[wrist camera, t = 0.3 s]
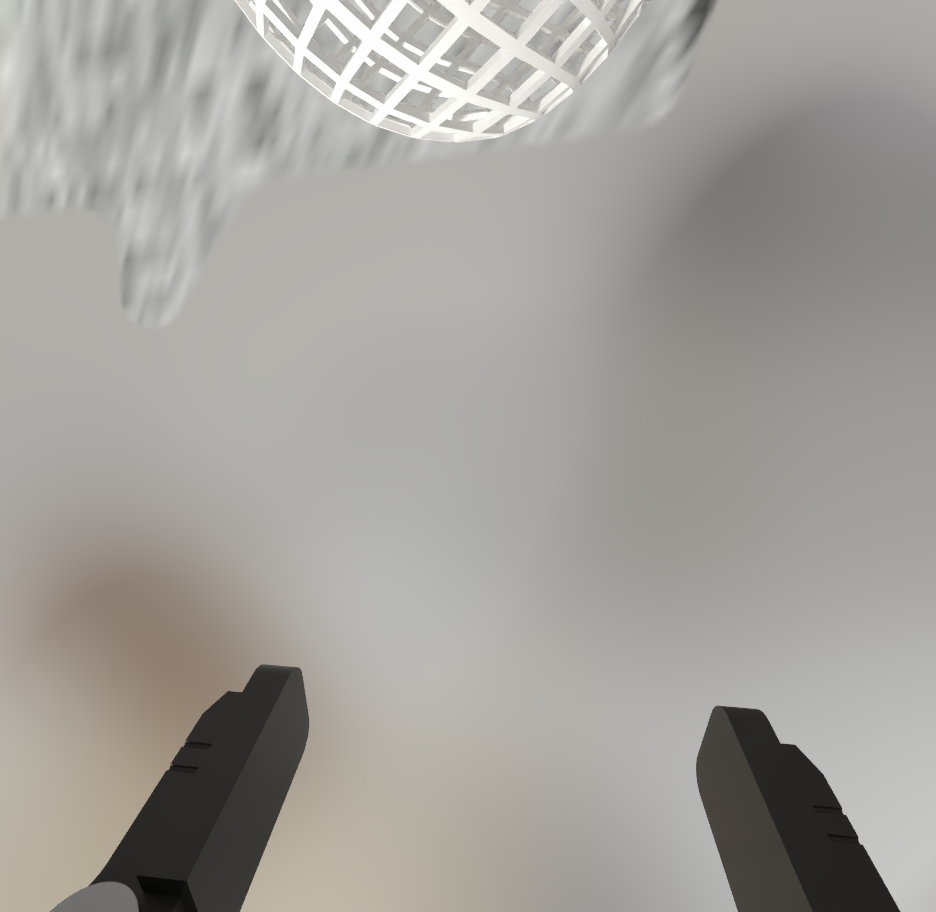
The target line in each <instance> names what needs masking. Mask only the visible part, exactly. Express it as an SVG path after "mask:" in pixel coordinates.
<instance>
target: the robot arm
mask: <svg viewBox="0 0 936 912" xmlns="http://www.w3.org/2000/svg"><path fill="white" fill-rule="evenodd" d="M308 731H309V715H308V709H307V703H306V696H305V689H304V683H303V676H302V672H301V669H300V668H297V667H287V666H275V665H260V666H259V667H258V668H257V669H256V670H255V672H254V673H253V675H252V677H251V678H250V680H249V682H248V683H247V685H246V687H245V689H244V690H243V692H231V691H228V692H227V693H226V694H224V695H223V696H222V697H221V698H220V699H219V700H218V701H217V702H215V703H214V704H213V705H212V706H211V707H210V708H209V709H208V710H206V711H205V712H204V713H203V714H202V716H201V717H200V719H199V721H198V722H197V724H196V725H195V727H194V728H193V730H192V732H191V733H190V735H189V736H188V738H187V739H186V741H185V745H184V747H181V749H180V750H179V752H178V754H177V755H176V756H175V758H174V760H173V761H172V763H171V764H170V765H171V766H170V769H169V770H168V771H166V772H165V774H164V775H163V777H162V778H161V780H160V782H159V783H158V785H157V786H156V788H155V789H154V791H153V792H152V794H151V796H150V797H149V799H148V800H147V802H146V803H145V805H144V807H143V808H142V810H141V811H140V813H139V814H138V816H137V817H136V819H135V821H134V822H133V824H132V825H131V827H130V828H129V830H128V832H127V833H126V835H125V836H124V838H123V839H122V841H121V843H120V844H119V846H118V847H117V849H116V850H115V852H114V854H113V855H112V857H111V858H110V860H109V861H108V863H107V864H106V866H105V867H104V869H103V870H102V871H101V873H100V874H99V875H98V876H97V877H96V878H95V880H94V881H93V882H92V883H91V884H90V885H89V886H88V887H86V888H84V889H81V890H79V891H78V892H76V893H74V894H72V895H71V896H69V897H68V898H66V899H65V900H64V901H62V902H61V903H59V904H58V905H57V906H56V907H55V908H54V909H52V910H51V911H50V912H240V910H241V907H242V905H243V902H244V900H245V897H246V895H247V892H248V890H249V887H250V885H251V882H252V880H253V877H254V875H255V872H256V870H257V867H258V865H259V862H260V860H261V857H262V855H263V852H264V850H265V847H266V845H267V842H268V840H269V837H270V835H271V832H272V830H273V827H274V825H275V822H276V820H277V817H278V815H279V813H280V810H281V807H282V805H283V802H284V800H285V798H286V795H287V792H288V790H289V788H290V785H291V783H292V780H293V777H294V775H295V772H296V770H297V768H298V765H299V763H300V760H301V758H302V755H303V752H304V749H305V746H306V741H307V737H308ZM696 774H697V783H698V788H699V792H700V796H701V799H702V802H703V805H704V808H705V811H706V815H707V817H708V821H709V824H710V826H711V829H712V833H713V836H714V839H715V842H716V845H717V848H718V851H719V854H720V858H721V860H722V864H723V867H724V869H725V873H726V876H727V879H728V882H729V885H730V888H731V891H732V894H733V897H734V901H735V903H736V907H737V910H738V912H900V911H899V909H898V907H897V905H896V903H895V901H894V900H893V898H892V896H891V894H890V893H889V891H888V889H887V887H886V886H885V884H884V882H883V880H882V878H881V877H880V875H879V873H878V871H877V869H876V868H875V866H874V864H873V862H872V861H871V859H870V857H869V855H868V854H867V852H866V850H865V848H864V847H863V845H860V844H859V841H858V836H857V834H856V832H855V830H854V829H853V827H852V825H851V823H850V821H849V820H848V818H847V816H846V815H844V814H843V813H842V807H841V805H840V804H839V802H838V800H837V798H836V796H835V795H834V793H833V791H832V789H831V788H830V786H829V784H828V782H827V780H826V779H825V777H824V775H823V774H822V773H821V772H820V771H819V770H818V768H817V767H816V766H815V765H814V764H813V763H812V762H811V761H810V760H809V759H808V758H807V757H806V756H805V755H804V754H803V753H802V752H801V751H800V749H799V748H798V747H797V746H796V745H790V744H780V742H779V740H778V738H777V736H776V734H775V732H774V730H773V728H772V726H771V724H770V722H769V721H768V719H767V717H766V716H765V714H764V713H763V712H762V711H760V710H758V709H748V708H737V707H726V706H716V707H714V709H713V710H712V713H711V716H710V719H709V722H708V726H707V728H706V732H705V735H704V738H703V741H702V744H701V747H700V750H699V753H698V757H697V763H696Z"/></svg>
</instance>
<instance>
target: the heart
mask: <svg viewBox="0 0 936 912" xmlns="http://www.w3.org/2000/svg"><path fill="white" fill-rule="evenodd" d="M235 1H236V3H237V4H238V5H239V7H240V8H241V9H242V11H243V12H244V14H245V15H246V16H247V18H248V19H249V20H250V22H251V23H252V24H253V26H254V27H255V28H256V30H257V31H258V33H259V34H260V35H261V36H262V37H263V38H264V40H265V41H266V42H267V43H268V44H269V45H270V46H271V47H272V48H273V49H274V50H275V51H276V52H277V53H278V54H279V55H280V57H281V58H282V59H283V60H284V61H285V62H286V63H287V64H288V65H289V66H290V67H291V68H292V69H293V70H294V71H295V72H296V73H297V74H298V75H299V76H300V77H302V78H303V79H304V80H305V81H307V82H308V83H309V84H310V85H312V86H313V87H314V88H315V89H317V90H318V91H319V92H321V93H322V94H323V95H324V96H326V97H327V98H328V99H329V100H331V101H332V102H334V103H335V104H337V105H338V106H340V107H342V108H343V109H345V110H347V111H349V112H350V113H352V114H354V115H356V116H358V117H359V118H361V119H363V120H365V121H366V122H368V123H370V124H373V125H375V126H378V127H381V128H384V129H387V130H390V131H393V132H396V133H399V134H402V135H405V136H408V137H412V138H417V139H426V140H436V141H446V142H467V141H475V140H482V139H490V138H497V137H500V136H503V135H506V134H508V133H510V132H512V131H514V130H516V129H518V128H520V127H523V126H525V125H527V124H529V123H531V122H533V121H535V120H537V119H538V118H540V117H542V116H543V115H544V114H546V113H547V112H548V111H550V110H551V109H552V108H553V107H555V106H556V105H557V104H559V103H560V102H561V101H562V100H564V99H565V98H566V97H568V96H569V95H570V94H571V93H573V92H574V91H575V90H576V89H577V88H578V87H579V86H580V85H581V84H582V83H583V82H584V81H585V80H586V79H587V78H588V77H589V75H590V74H591V73H592V72H593V71H594V70H595V69H596V68H597V67H598V66H599V65H600V64H601V63H602V61H603V60H604V59H605V58H606V57H607V56H608V55H609V54H610V52H611V51H612V50H613V49H614V48H615V46H616V45H617V44H618V42H619V41H620V40H621V38H622V37H623V36H624V34H625V33H626V32H627V30H628V29H629V28H630V26H631V25H632V24H633V22H634V21H635V20H636V18H637V17H638V16H639V14H640V13H641V12H642V10H643V9H644V8H645V6H646V5H647V3H648V2H649V1H650V0H631V1H630V2H629V3H628V5H627V6H626V7H625V9H617V8H618V7H619V6H620V4H621V3H622V2H623V1H624V0H599V2H596V1H597V0H570V1H571V2H572V3H573V4H574V5H575V6H576V8H575V9H574V10H573V11H572V12H571V13H570V14H569V15H568V16H567V18H566V19H565V20H564V21H563V22H562V23H561V24H560V25H559V26H556V25H554V24H552V23H551V22H549V21H547V20H548V19H549V18H550V16H551V15H552V14H553V13H554V12H555V11H556V10H557V8H558V7H559V6H560V5H561V4H562V3H563V2H564V0H542V2H541V3H540V4H539V5H538V6H537V7H536V9H535V10H534V11H533V12H531V11H529V10H527V9H525V8H523V7H521V6H519V5H517V4H518V2H519V1H520V0H434V1H433V2H432V4H431V5H429V4H427V3H426V2H425V1H424V0H390V2H389V3H388V4H387V6H386V7H385V8H384V9H383V10H382V11H381V12H380V11H379V10H378V9H377V8H376V7H375V6H374V4H373V3H372V2H371V1H370V0H355V1H356V2H357V3H358V5H359V6H360V7H361V8H362V9H363V11H364V12H365V13H366V14H367V15H368V16H369V18H370V19H371V20H372V21H371V22H370V21H369V20H368V19H367V18H366V17H365V16H363V15H362V14H361V13H360V12H359V11H358V10H357V9H356V8H355V7H354V6H353V5H352V4H351V3H350V2H351V1H352V0H310V1H311V3H312V4H313V8H312V10H311V12H310V15H309V17H308V19H307V21H306V23H305V24H304V25H303V26H302V25H301V24H300V22H299V21H298V19H297V18H296V17H295V15H294V14H293V12H292V11H291V9H290V8H289V6H288V5H287V3H286V2H285V0H235ZM407 2H408V3H409V4H411V5H412V6H413V7H414V8H415V9H417V10H418V11H419V12H420V13H421V14H422V15H421V16H420V17H419V18H418V19H417V20H416V21H415V22H414V23H413V24H412V25H411V26H410V27H409V28H408V30H407V31H406V32H405V33H404V32H402V31H401V30H400V29H399V28H398V27H396V26H395V25H394V24H393V23H392V22H393V20H394V19H395V18H396V16H397V15H398V14H399V12H400V11H401V10H402V8H403V7H404V6H405V5H406V3H407ZM441 5H443V6H444V7H446V8H447V9H448V10H449V11H450V12H452V13H453V14H454V15H455V17H454V19H452V18H451V17H449V16H447V15H445V14H443V13H441V12H440V11H438V9H439V7H440V6H441ZM485 6H487V7H490V8H493V9H496V10H498V11H497V12H496V13H495V14H494V15H493V17H492V18H491V17H490V16H489V15H487V14H486V13H485V12H483V11H482V10H483V9H484V7H485ZM508 14H509V15H511V16H513V17H516V18H518V19H520V20H522V21H524V23H523V24H522V25H521V26H520V27H519V28H518V30H517V31H516V32H515V33H514V34H513V33H512V32H511V31H509V30H508V29H506V28H505V27H504V26H502V25H501V24H500V22H501V21H502V20H503V19H504V18H505V17H506V16H507V15H508ZM583 15H585V17H586V18H585V19H584V20H583V21H582V22H581V23H580V25H579V26H578V27H577V28H576V29H575V30H574V31H573V33H572V34H570V33H568V31H569V29H570V28H571V27H572V26H573V25H574V24H575V23H576V22H577V21H578V20H579V19H580V18H581V17H582V16H583ZM269 19H270V21H271V22H272V23H273V24H274V25H275V26H276V27H277V28H278V29H279V30H280V31H281V32H282V33H281V34H279V33H278V32H277V30H276V29H275V28H274V26H273V25H272V23H271V22H270V21H269ZM429 19H430V20H431V21H433V22H435V23H437V24H439V25H440V26H442V27H444V28H445V29H444V30H443V31H442V32H441V34H440V35H439V36H438V37H437V38H436V39H435V41H434V42H433V43H432V44H431V45H430V46H429V47H428V46H426V45H424V44H422V43H420V42H418V41H417V40H415V39H413V38H412V37H413V36H414V35H415V34H416V32H417V31H418V30H419V29H420V28H421V27H422V26H423V25H424V24H425V23H426V22H427V21H428V20H429ZM339 20H340V21H341V22H342V23H343V24H344V25H345V26H346V27H347V28H348V29H349V30H351V31H352V32H353V33H354V34H355V36H354V37H353V36H352V35H351V33H350V32H349V31H348V30H347V29H346V28H345V27H344V26H343V24H342V23H341V22H340V21H339ZM607 20H610V21H615V22H614V23H613V24H612V25H611V27H609V25H608V23H607ZM324 23H326V24H327V25H328V26H329V27H330V28H331V30H332V31H333V32H334V33H335V34H336V35H337V36H338V37H339V38H340V40H341V41H342V42H343V43H344V44H345V45H343V46H342V47H341V48H340V49H338V50H337V51H336V52H334V53H333V54H332V55H331V56H328V55H327V53H326V52H325V51H324V50H323V49H322V48H321V47H320V46H319V45H318V44H317V43H316V42H315V40H314V39H313V38H312V37H313V35H314V33H315V31H316V29H317V28H319V27H320V26H322V25H323V24H324ZM539 29H540V30H542V31H544V32H545V33H547V34H549V36H548V37H547V38H546V39H545V40H544V41H543V42H542V43H541V44H540V45H539V46H538V47H537V48H535V47H533V46H532V45H530V44H529V43H528V42H529V40H530V39H531V38H532V37H533V36H534V35H535V34H536V32H537V31H538V30H539ZM384 32H385V33H386V34H388V35H389V36H390V37H391V38H392V39H391V38H390V37H389V36H387V35H386V34H384ZM597 32H598V33H599V35H600V36H601V37H602V38H601V39H600V41H599V42H598V43H597V44H596V45H593V44H590V43H589V41H590V40H591V39H592V38H593V37H594V35H595V34H596V33H597ZM460 35H462V36H465V37H467V38H470V39H472V40H471V41H470V42H469V43H468V45H467V46H466V47H465V48H464V49H463V50H462V52H461V53H460V54H459V55H458V56H457V57H454V56H451V55H448V54H445V52H446V51H447V50H448V49H449V47H450V46H451V45H452V44H453V43H454V42H455V41H456V40H457V39H458V37H459V36H460ZM393 39H394V40H395V41H394V40H393ZM559 40H560V41H562V42H563V44H562V45H561V46H560V47H559V48H558V50H557V51H556V52H555V53H554V54H553V55H552V56H551V57H549V56H548V55H546V53H547V52H548V51H549V50H550V49H551V48H552V47H553V46H554V45H555V44H556V43H557V42H558V41H559ZM291 43H292V44H293V45H294V46H295V51H294V50H293V49H292V48H291V47H290V46H289V45H288V44H291ZM481 43H483V44H486V45H489V46H492V47H494V48H497V49H499V50H498V51H497V52H496V53H495V54H494V55H493V56H492V57H491V58H490V59H489V60H488V61H487V62H486V63H485V64H484V65H483V66H482V65H479V64H476V63H472V62H469V61H466V60H467V59H468V57H469V56H470V55H471V54H472V53H473V52H474V51H475V50H476V48H477V47H478V46H479V45H480V44H481ZM404 47H405V48H407V49H408V50H410V51H412V52H414V53H416V54H418V55H419V56H421V57H420V58H418V57H417V56H415V55H414V54H412V53H411V52H410V51H408V50H407V49H405V48H404ZM372 49H373V50H374V51H376V52H377V53H379V54H380V55H382V57H381V58H380V59H379V58H378V57H377V56H376V55H374V54H373V53H372V52H371V50H372ZM350 52H353V55H352V56H351V58H350V60H349V61H348V63H347V64H346V66H345V67H344V68H342V67H341V66H340V65H338V64H337V63H338V62H339V61H341V60H342V59H343V58H344V57H346V56H347V55H348V54H349V53H350ZM580 52H581V53H583V54H586V55H587V56H586V57H585V58H584V59H583V60H582V61H581V62H580V63H579V64H578V65H577V66H576V67H575V68H574V69H573V70H572V71H570V70H569V69H567V68H566V66H567V65H568V64H569V63H570V62H571V61H572V60H573V59H574V58H575V57H576V56H577V55H578V54H579V53H580ZM514 57H517V58H519V59H521V60H522V61H523V62H522V63H521V64H520V65H519V66H518V67H517V68H516V69H515V70H514V71H513V72H512V73H511V74H510V75H509V76H507V75H505V74H502V73H500V72H499V71H500V70H501V69H502V68H503V67H504V66H505V65H506V64H508V63H509V62H510V61H511V60H512V59H513V58H514ZM306 58H308V59H309V60H310V61H311V62H312V63H314V64H315V65H313V66H311V67H309V66H308V65H307V64H306V63H305V61H306ZM363 61H365V62H366V63H367V64H368V65H370V66H371V68H369V69H368V70H367V71H366V72H365V73H364V74H363V75H362V76H361V77H360V78H359V79H357V78H355V77H354V74H355V73H356V71H357V70H358V68H359V67H360V66H361V64H362V63H363ZM389 61H391V62H392V63H393V64H395V65H396V66H398V67H399V68H401V69H402V70H404V71H405V72H407V73H404V72H402V71H400V70H399V69H397V68H395V67H393V66H391V65H389V64H387V63H388V62H389ZM435 63H438V64H441V65H444V66H447V67H448V69H447V70H446V71H445V72H443V71H441V70H439V69H437V68H435V67H433V65H434V64H435ZM532 67H535V68H537V69H538V70H537V71H536V72H535V73H534V74H533V75H532V76H531V77H530V78H529V79H528V80H526V81H525V82H524V83H523V84H522V85H521V86H519V85H518V84H517V83H516V82H517V81H518V80H519V79H520V78H521V77H522V76H523V75H524V74H525V73H526V72H527V71H528V70H529V69H531V68H532ZM457 70H460V71H463V72H467V73H470V74H474V75H473V76H472V77H471V78H470V79H469V80H468V81H467V82H466V83H465V82H463V81H461V80H459V79H457V78H455V77H453V75H454V74H455V73H456V72H457ZM379 72H380V73H381V74H383V75H385V76H387V77H389V78H391V79H393V80H395V81H396V82H398V83H397V84H396V85H395V86H394V88H393V89H392V90H391V91H390V92H389V93H388V94H387V96H386V95H384V94H382V93H380V92H378V91H377V90H375V89H373V88H371V87H370V86H368V85H367V84H368V83H369V82H370V81H371V80H372V79H373V78H374V77H375V76H376V75H377V74H378V73H379ZM323 73H326V74H327V75H328V76H329V77H330V78H332V79H333V80H334V81H335V82H336V85H335V87H333V86H332V85H331V84H329V83H328V82H327V81H326V80H324V79H323V78H322V77H321V76H319V75H321V74H323ZM490 80H492V81H495V82H497V83H500V84H499V85H498V86H497V87H496V88H495V89H493V90H492V91H491V92H488V91H485V90H482V88H483V87H484V86H485V85H486V84H487V83H488V82H489V81H490ZM551 80H553V81H554V82H555V83H556V84H557V85H556V86H555V87H553V88H552V89H551V90H549V91H548V92H547V93H545V94H544V95H543V96H541V97H540V98H539V99H538V100H536V101H535V102H534V103H533V102H532V101H531V100H530V97H531V96H532V95H533V94H535V93H536V92H537V91H538V90H540V89H541V88H542V87H543V86H545V85H546V84H547V83H549V82H550V81H551ZM412 88H413V89H416V90H420V91H423V92H426V93H429V94H428V95H427V97H426V98H425V100H424V101H423V103H422V104H421V106H420V107H419V106H415V105H412V104H409V103H405V102H402V101H401V100H402V99H403V98H404V97H405V95H406V94H407V93H408V92H409V91H410V90H411V89H412ZM509 88H510V90H511V91H512V92H513V93H512V94H511V95H510V96H509V97H508V98H505V97H502V96H500V95H501V94H502V93H504V92H505V91H506V90H507V89H509ZM345 89H346V90H345ZM355 95H356V96H358V97H360V98H361V99H363V100H365V101H366V102H368V103H370V104H371V105H373V106H375V107H376V109H375V110H374V111H372V110H370V109H369V108H367V107H365V106H363V105H361V104H359V103H358V102H356V101H354V100H352V98H353V97H354V96H355ZM437 96H442V97H447V98H449V99H448V100H447V101H445V102H444V103H443V104H442V105H441V106H440V107H439V108H438V109H430V107H431V106H432V104H433V103H434V101H435V100H436V98H437ZM467 102H468V103H472V104H475V105H478V106H482V107H485V108H487V109H478V110H468V111H464V109H465V107H466V105H467ZM388 114H390V115H393V116H396V117H398V118H401V119H404V120H406V121H409V122H411V123H407V122H404V121H400V120H397V119H394V118H391V117H388V116H387V115H388ZM508 114H510V115H508ZM506 115H507V116H506ZM476 119H479V120H478V121H476V122H475V123H474V124H468V123H463V122H460V121H467V120H476Z"/></svg>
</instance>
